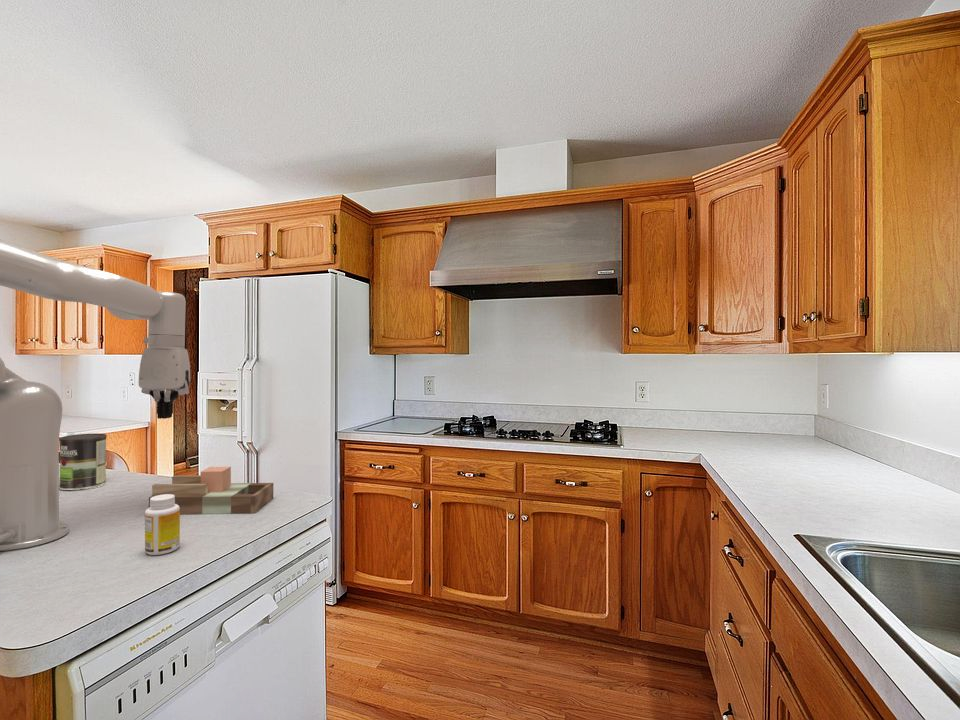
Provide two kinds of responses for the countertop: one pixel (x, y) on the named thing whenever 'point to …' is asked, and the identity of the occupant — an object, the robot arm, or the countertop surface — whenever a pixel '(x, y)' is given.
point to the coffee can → (82, 461)
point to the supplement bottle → (162, 525)
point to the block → (216, 478)
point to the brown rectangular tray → (214, 496)
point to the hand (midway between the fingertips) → (164, 417)
